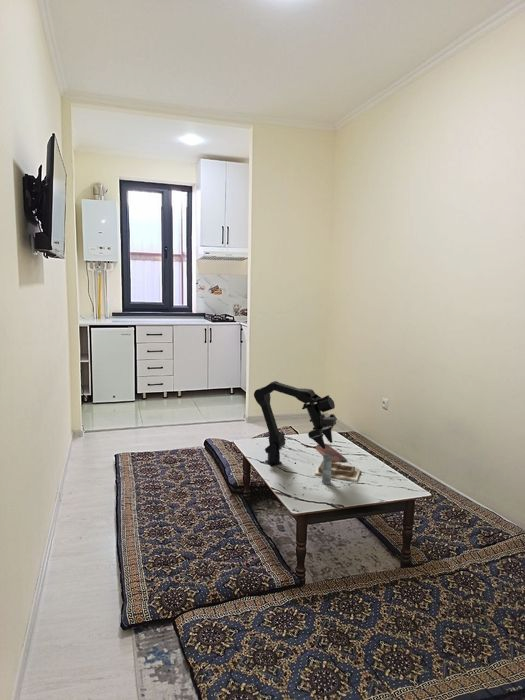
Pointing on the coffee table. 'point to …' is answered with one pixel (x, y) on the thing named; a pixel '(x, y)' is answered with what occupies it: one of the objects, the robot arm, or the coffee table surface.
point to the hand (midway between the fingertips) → (328, 445)
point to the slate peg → (326, 469)
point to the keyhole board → (341, 472)
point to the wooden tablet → (331, 453)
